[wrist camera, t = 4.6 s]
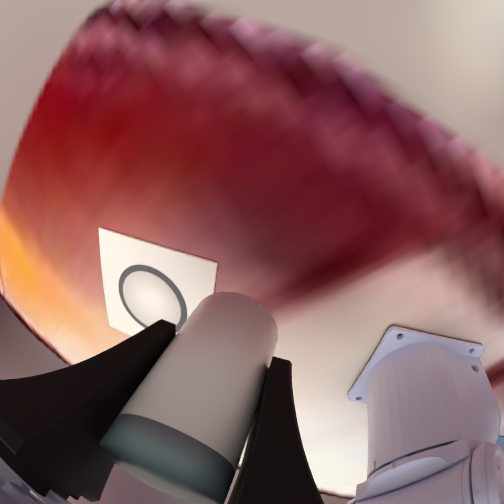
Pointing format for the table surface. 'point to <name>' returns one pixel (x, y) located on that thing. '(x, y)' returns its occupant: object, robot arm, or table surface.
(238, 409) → the white cylindrical piece
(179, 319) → the paper sheet
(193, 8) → the table surface
